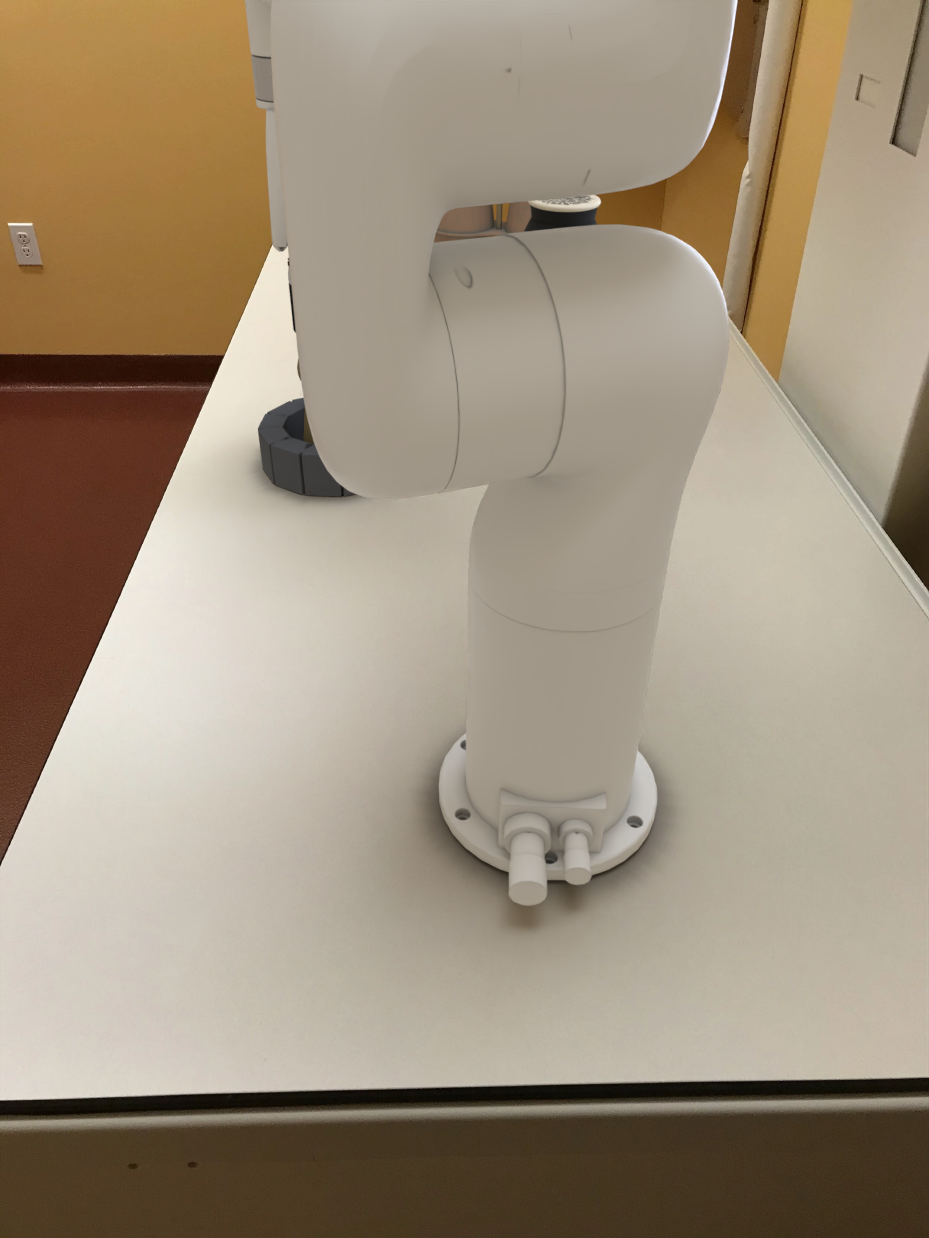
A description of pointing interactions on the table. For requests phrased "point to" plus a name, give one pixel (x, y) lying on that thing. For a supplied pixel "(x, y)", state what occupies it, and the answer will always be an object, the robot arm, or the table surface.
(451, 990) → the table surface
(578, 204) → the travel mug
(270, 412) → the segmented block ring
